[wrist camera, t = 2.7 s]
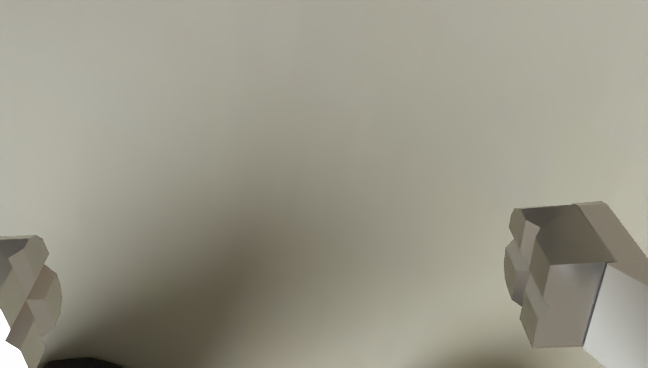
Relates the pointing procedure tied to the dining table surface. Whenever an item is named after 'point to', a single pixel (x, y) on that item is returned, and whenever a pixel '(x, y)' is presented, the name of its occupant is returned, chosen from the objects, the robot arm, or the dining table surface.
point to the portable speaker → (79, 364)
